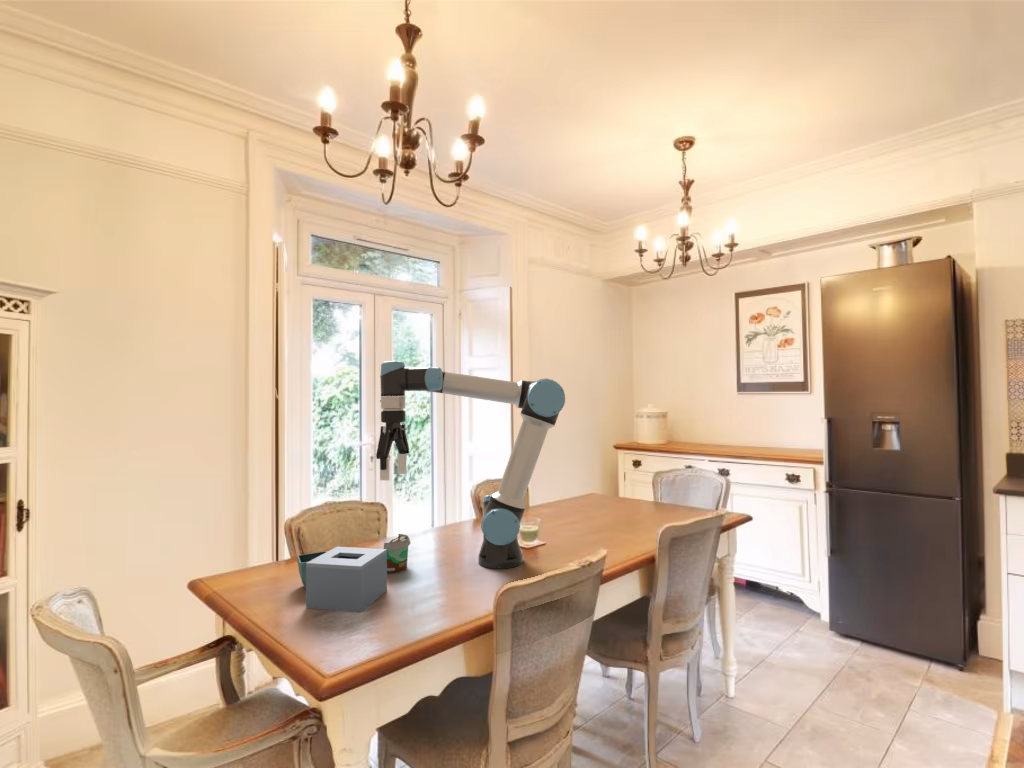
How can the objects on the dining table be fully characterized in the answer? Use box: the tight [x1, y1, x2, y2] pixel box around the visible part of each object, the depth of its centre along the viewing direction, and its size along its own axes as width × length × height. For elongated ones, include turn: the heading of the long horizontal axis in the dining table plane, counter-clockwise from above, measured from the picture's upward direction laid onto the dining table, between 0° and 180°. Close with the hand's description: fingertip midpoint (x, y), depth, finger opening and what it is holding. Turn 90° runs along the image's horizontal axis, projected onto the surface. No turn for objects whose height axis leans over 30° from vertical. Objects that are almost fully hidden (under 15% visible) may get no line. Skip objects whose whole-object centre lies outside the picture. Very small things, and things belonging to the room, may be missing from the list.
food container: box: [383, 533, 411, 574], centre depth 174 cm, size 12×6×10 cm, turn 168°
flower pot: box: [296, 550, 328, 590], centre depth 158 cm, size 9×9×9 cm
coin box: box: [305, 546, 388, 613], centre depth 149 cm, size 16×16×12 cm
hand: (393, 477), depth 167 cm, fingers open, 13 cm apart
